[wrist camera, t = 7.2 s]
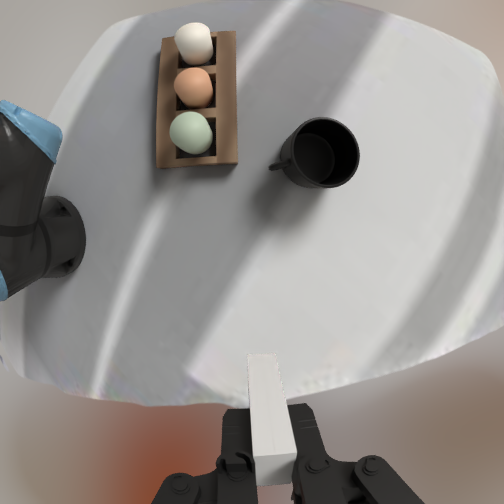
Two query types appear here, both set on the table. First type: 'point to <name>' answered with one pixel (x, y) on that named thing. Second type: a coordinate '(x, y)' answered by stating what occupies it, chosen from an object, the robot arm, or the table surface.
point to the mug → (319, 154)
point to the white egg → (194, 43)
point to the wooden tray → (221, 114)
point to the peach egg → (194, 88)
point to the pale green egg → (191, 133)
